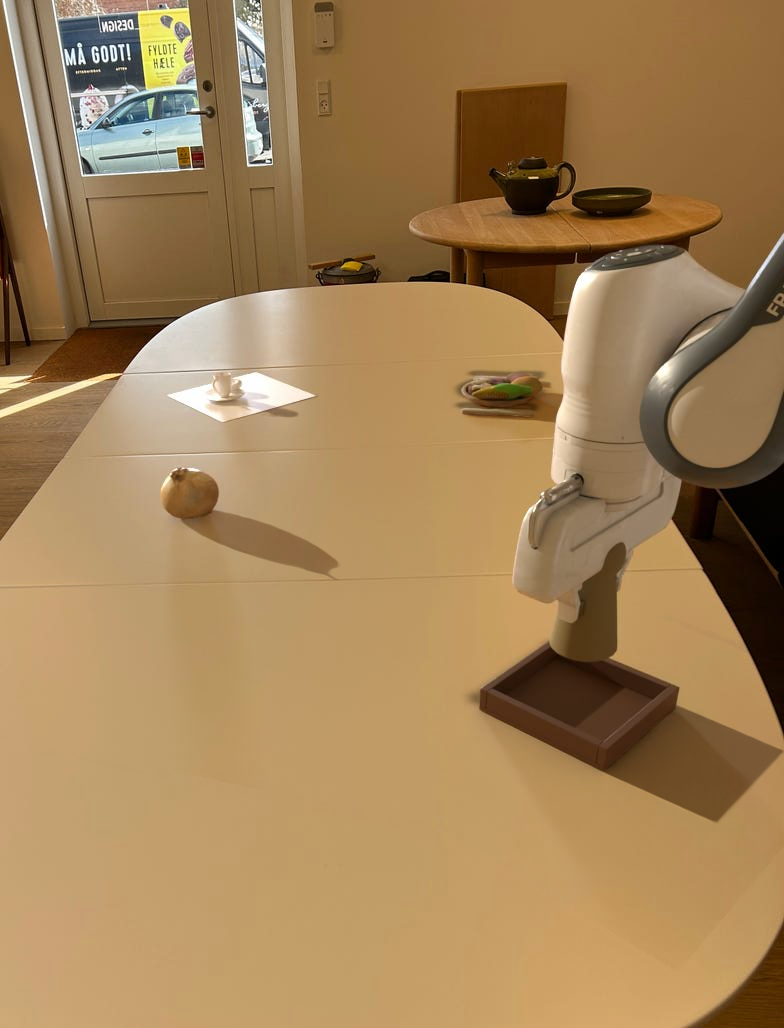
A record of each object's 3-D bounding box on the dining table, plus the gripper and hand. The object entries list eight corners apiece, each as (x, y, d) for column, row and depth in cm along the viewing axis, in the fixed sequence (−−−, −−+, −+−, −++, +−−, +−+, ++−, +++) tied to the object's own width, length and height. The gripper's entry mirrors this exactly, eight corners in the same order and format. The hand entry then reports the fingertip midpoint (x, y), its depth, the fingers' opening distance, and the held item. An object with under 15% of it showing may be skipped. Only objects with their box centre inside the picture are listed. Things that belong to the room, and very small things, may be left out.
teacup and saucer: (234, 385, 182) (232, 364, 180) (257, 395, 177) (255, 373, 175) (194, 396, 178) (191, 374, 176) (216, 406, 173) (214, 384, 171)
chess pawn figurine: (536, 645, 88) (546, 537, 82) (571, 619, 92) (584, 514, 86) (595, 669, 85) (610, 558, 79) (630, 641, 88) (647, 532, 82)
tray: (675, 708, 92) (679, 687, 90) (603, 771, 85) (606, 749, 83) (553, 656, 100) (555, 635, 99) (478, 709, 93) (480, 688, 92)
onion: (179, 499, 139) (173, 452, 135) (229, 505, 137) (225, 457, 133) (153, 522, 133) (146, 474, 129) (206, 529, 130) (200, 480, 126)
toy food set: (467, 378, 179) (468, 356, 177) (543, 379, 176) (545, 357, 174) (455, 414, 163) (456, 391, 161) (539, 417, 160) (541, 393, 158)
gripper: (569, 509, 71) (552, 666, 78) (703, 433, 82) (678, 575, 90) (499, 487, 75) (489, 638, 82) (636, 417, 86) (617, 555, 94)
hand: (588, 605), depth 86 cm, fingers closed on chess pawn figurine, 4 cm apart
